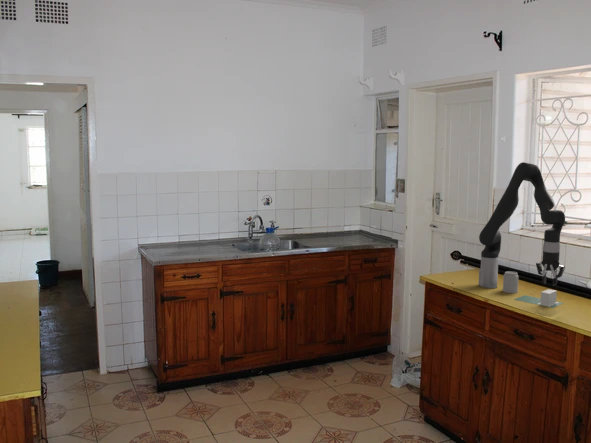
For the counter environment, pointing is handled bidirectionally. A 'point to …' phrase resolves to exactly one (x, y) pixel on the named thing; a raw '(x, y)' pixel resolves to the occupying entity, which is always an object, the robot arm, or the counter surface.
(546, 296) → the block
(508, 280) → the can
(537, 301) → the board
